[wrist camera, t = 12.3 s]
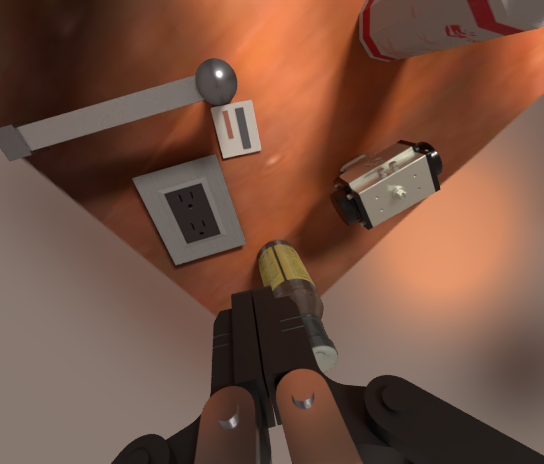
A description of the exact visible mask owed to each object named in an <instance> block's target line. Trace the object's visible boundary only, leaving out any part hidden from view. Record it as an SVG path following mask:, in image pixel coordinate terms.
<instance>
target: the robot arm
mask: <svg viewBox="0 0 544 464" xmlns="http://www.w3.org/2000/svg"><path fill="white" fill-rule="evenodd" d="M252 292H253V296H252ZM252 292H251V290H248V291H243V292H239V293H235V294H232V295H231V299H232V309H228V310H224V311H220V312H219V314H218V316H217V318H216V320H215V322H214V329H213V331H214V332H213V337H214V338H213V353H212V354H213V355H212V379H211V394H210V398H209V400H208V401H207V403H206V404H205V406H204V408H203V411H202V413H201V415H200V416H199V417H198V418H197V419H196V420H195V421H194V422H193V423H192V424H190V425H189V426H187V427H186V428H184V429H183V430H181V431H179V432H178V433H176V434H175V435H173V436H171V437H170V438H168V439H167V440H165V439H164V438H162V437H161V436H159V435H156V434H148V435H144V436H141V437H139V438H137V439H135V440H134V441H132V442H131V443H130V444H128V445H127V446H126V447H125V448H124V449H123V450H122V451H121V452H120V453H119V455H118V456H117V457H116V458H115V459H114V461H113V462H112V463H111V464H272V458H271V445H270V438H269V430H268V428H270V427H274V426H275V419H274V412H275V416H276V420H277V424H278V425H281V424H282V425H283V429H284V433H285V437H286V441H287V445H288V449H289V453H290V457H291V461H292V464H544V456H543V455H541V454H540V453H538V452H536V451H534V450H532V449H531V448H529V447H527V446H525V445H523V444H522V443H520V442H518V441H516V440H514V439H512V438H511V437H508V436H507V435H505V434H503V433H501V432H500V431H498V430H496V429H494V428H492V427H490V426H489V425H487V424H485V423H483V422H481V421H480V420H478V419H476V418H474V417H472V416H471V415H469V414H467V413H465V412H463V411H461V410H460V409H457V408H456V407H454V406H452V405H450V404H449V403H447V402H445V401H443V400H441V399H440V398H438V397H436V396H434V395H432V394H430V393H429V392H427V391H425V390H423V389H421V388H420V387H418V386H416V385H414V384H412V383H410V382H409V381H407V380H405V379H403V378H400V377H397V376H392V375H383V376H379V377H376V378H374V379H373V380H372V381H371V382H370V383H369V384H368V385H367V387H364V386H352V385H343V384H340V383H337V382H335V381H332V380H331V379H329V378H328V377H327V376H325V375H324V373H323V372H322V371H321V370H320V368H319V366H318V364H317V361H316V358H315V356H314V353H313V350H312V347H311V344H310V341H309V338H308V335H307V332H306V330H305V327H304V324H303V321H302V318H301V315H300V312H299V309H298V307H297V304H296V303H295V302H294V301H293V300H292V299H291V298H290V297H289V296H284V297H280V298H275V299H274V295H273V291H272V287H271V285H269V286H265V287H261V288H256V289H252ZM253 299H254V300H253ZM272 405H273V406H272ZM273 409H274V412H273Z"/></svg>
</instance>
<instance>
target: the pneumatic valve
mask: <svg viewBox="0 0 544 464" xmlns="http://www.w3.org/2000/svg"><path fill="white" fill-rule="evenodd" d="M340 172H345V173H343V174H341V175H340V176H339V177H337V178H336V179H334V181H333V182H334V184H335V186H334V187H335V189H336V190H337V191H335V192H334V193H332V194H330V199H331V201H332V204H333V206H334V208H335V209H336V211H337V213H338V214H339V216H340V217H341V219H342V220H343V222H344V223H345V224H346V225H347V226H350V225H352V224H354V223H355V222H357V221H359V225H360V226H361V227H362V226H364V227H366V228H367V229H368V230H369V229H371V228H373V227H375V226H376V225H378V224H380V223H382V222H383V221H385V220H387V219H389V218H391V217H392V216H394V215H396V214H398V213H399V212H401V211H403V210H405V209H406V208H408V207H410V206H412V205H414V204H415V203H417V202H419V201H421V200H422V199H424V198H426V197H428V196H430V195H431V194H433V193H435V192H437V191H438V190H440V185H439V181H438V178H437V176H438V175H440V174H441V172H442V161H441V158H440V156H439V154H438V153H437V151H436V150H435V149H434V148H433V147H432V146H431V145H430V144H428V143H426V142H419V143H417V144H416V143H412V142H408V141H403V140H400V141H398V142H397V143H395V144H393V145H392V146H390V147H388V148H386V149H385V150H383V151H381V152H380V153H378V154H376V155H375V156H374V155H373V156H372V157H370V158H368V157H367V156H366V154H364V155H363V154H361V155H359V156H358V157H356V158H354V159H352V160H351V161H349V162H347V163H346V164H344V165H342V168H340Z"/></svg>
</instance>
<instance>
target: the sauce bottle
mask: <svg viewBox="0 0 544 464" xmlns="http://www.w3.org/2000/svg"><path fill="white" fill-rule="evenodd" d="M258 262H259V269H260V273H261V277H262V281H263V285H264V287H265V286H269V285H271V287H272V291H273V295H274V299H275V298H280V297H284V296H289V297H290V298H291V299H292V300H293V301H294V302H295V303H296V304H297V307H298V309H299V312H300V315H301V318H302V321H303V324H304V327H305V330H306V332H307V335H308V338H309V341H310V344H311V347H312V350H313V353H314V356H315V358H316V361H317V364H318V366H319V368H320V370H321V371H322V372H323V373H325V372H327V371H329V370H330V369H331V368H332V367H333V366H334V365H335V364H336V362H337V359H338V353H337V350H336V348H335V346H334V344H333V342H332V341H331V340H330V339H329V338H328V336H327V334H326V332H325V329H324V327H323V324H322V322H321V318H322V315H323V303H322V301H321V298H320V296H319V295H318V293H317V289H316V287H315V285H314V283H313V282H312V280H311V278H310V276H309V274H308V272H307V271H306V269H305V267H304V265H303V263H302V261H301V259H300V257H299V255H298V254H297V252H296V251H295V250H294V248H293V247H292V246H291V245H290V244H289V243H287V242H286V241H283V240H275V241H271V242H268V243H267V244H266V245H264V246H263V248H262V249H261V250H260V252H259V254H258Z"/></svg>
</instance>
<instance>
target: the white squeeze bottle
mask: <svg viewBox="0 0 544 464" xmlns="http://www.w3.org/2000/svg"><path fill="white" fill-rule="evenodd" d="M542 26H544V0H366V2H365V4H364V6H363V8H362V10H361V12H360V14H359V41H360V42H361V44H362V45H363V47H364V49H365V50H366V52H367V53H368V55H369V56H370V58H373V59H377V60H381V61H386V62H391V61H395V60H400V59H404V58H409V57H413V56H418V55H422V54H426V53H431V52H435V51H440V50H444V49H449V48H453V47H458V46H462V45H466V44H471V43H475V42H480V41H484V40H489V39H493V38H498V37H502V36H506V35H511V34H515V33H520V32H524V31H529V30H533V29H538V28H540V27H542Z"/></svg>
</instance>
